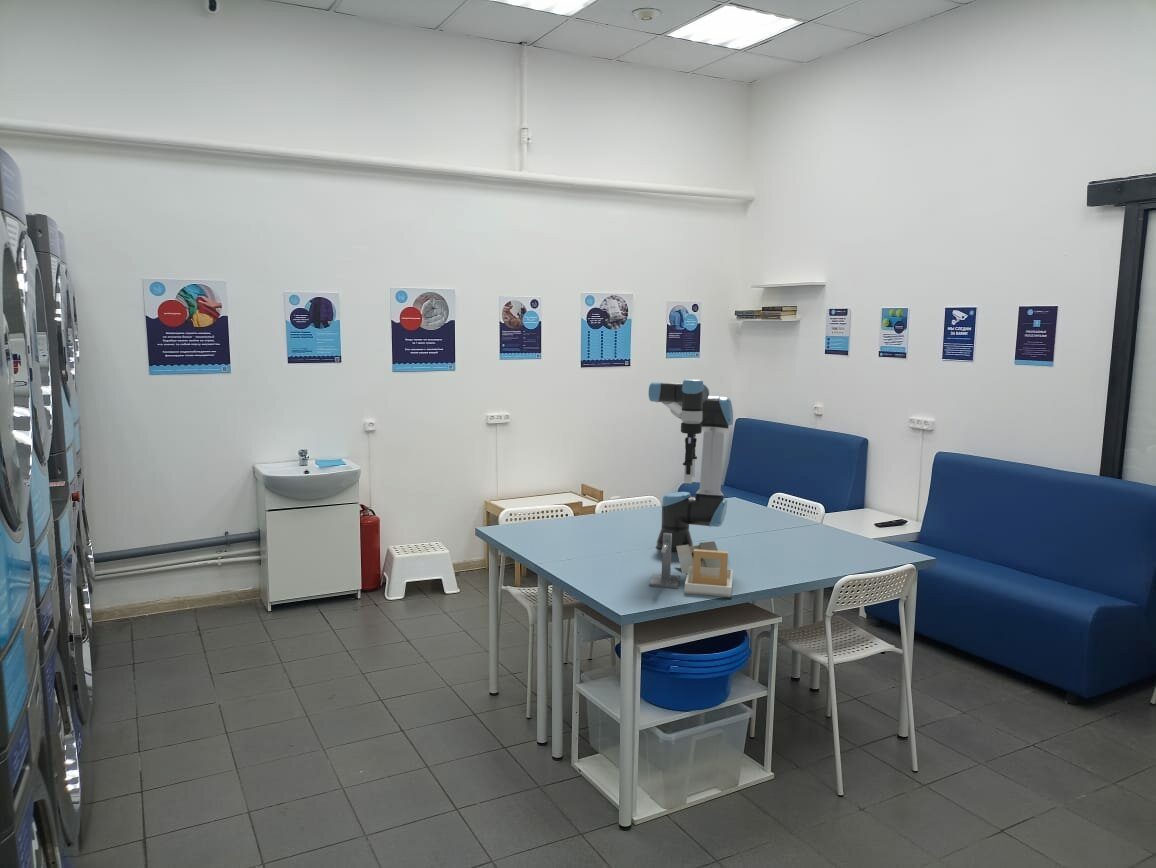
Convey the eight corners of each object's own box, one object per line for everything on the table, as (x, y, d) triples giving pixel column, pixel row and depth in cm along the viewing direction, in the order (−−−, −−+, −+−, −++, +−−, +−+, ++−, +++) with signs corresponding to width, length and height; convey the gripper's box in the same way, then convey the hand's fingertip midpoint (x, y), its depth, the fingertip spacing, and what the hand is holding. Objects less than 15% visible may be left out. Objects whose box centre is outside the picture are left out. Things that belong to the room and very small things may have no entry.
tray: (689, 575, 304) (689, 566, 303) (732, 578, 301) (732, 569, 300) (684, 593, 283) (684, 583, 282) (731, 597, 279) (731, 587, 279)
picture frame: (692, 581, 294) (694, 549, 292) (726, 583, 292) (728, 551, 290) (692, 583, 292) (693, 550, 290) (726, 586, 289) (727, 553, 288)
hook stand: (652, 576, 302) (654, 531, 300) (679, 578, 300) (681, 533, 298) (647, 589, 287) (649, 542, 284) (676, 591, 285) (677, 544, 282)
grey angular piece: (724, 579, 313) (716, 547, 322) (725, 568, 306) (716, 535, 316) (682, 585, 313) (674, 553, 322) (682, 574, 306) (674, 540, 316)
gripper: (683, 418, 307) (681, 473, 309) (678, 425, 283) (676, 485, 285) (703, 419, 305) (701, 474, 308) (699, 426, 281) (697, 486, 284)
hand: (689, 480), depth 297 cm, fingers open, 13 cm apart
